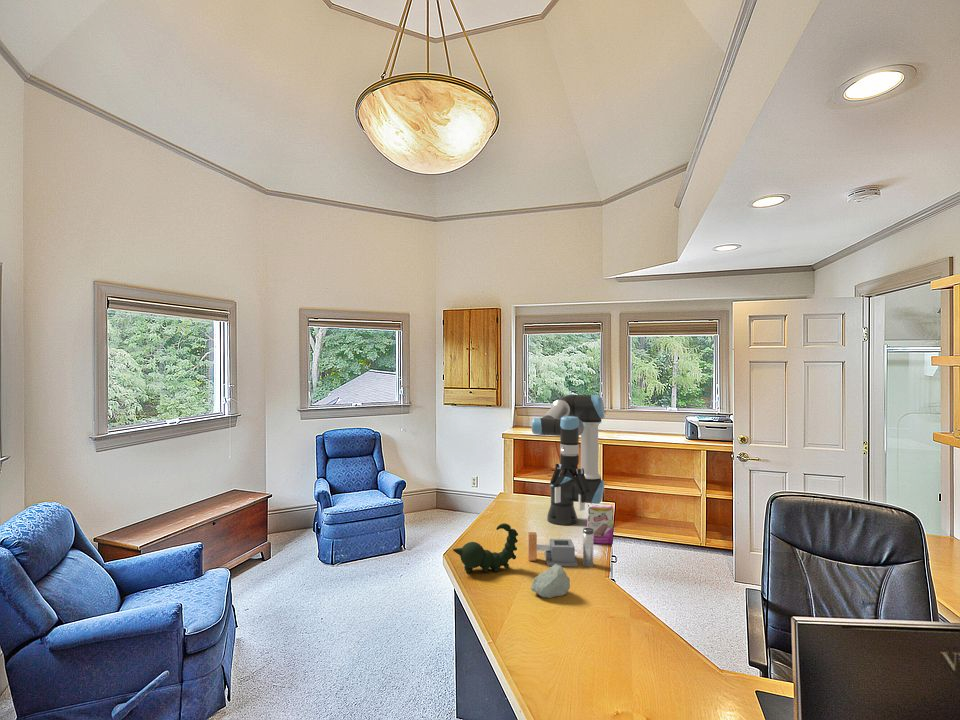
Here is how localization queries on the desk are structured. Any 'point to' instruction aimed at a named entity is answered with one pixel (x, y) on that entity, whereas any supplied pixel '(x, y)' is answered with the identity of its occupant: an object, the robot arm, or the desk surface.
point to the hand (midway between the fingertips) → (569, 506)
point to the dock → (561, 553)
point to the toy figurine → (488, 553)
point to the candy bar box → (600, 523)
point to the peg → (588, 547)
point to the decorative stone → (551, 582)
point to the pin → (536, 546)
